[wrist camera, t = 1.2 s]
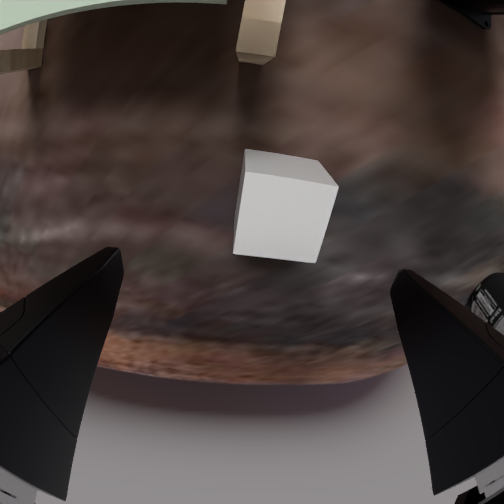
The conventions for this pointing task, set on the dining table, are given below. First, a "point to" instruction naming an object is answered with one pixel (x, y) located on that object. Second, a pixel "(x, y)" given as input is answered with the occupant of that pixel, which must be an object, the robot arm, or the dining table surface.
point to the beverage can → (490, 301)
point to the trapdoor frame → (248, 47)
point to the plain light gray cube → (282, 207)
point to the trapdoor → (62, 9)
